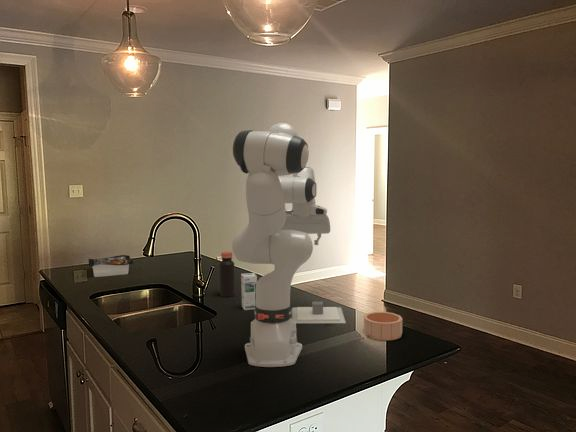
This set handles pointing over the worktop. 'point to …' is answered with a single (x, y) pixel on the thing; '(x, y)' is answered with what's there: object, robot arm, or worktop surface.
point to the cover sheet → (309, 317)
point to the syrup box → (248, 290)
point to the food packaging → (110, 265)
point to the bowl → (383, 326)
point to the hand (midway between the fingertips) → (304, 245)
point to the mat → (342, 320)
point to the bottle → (227, 275)
